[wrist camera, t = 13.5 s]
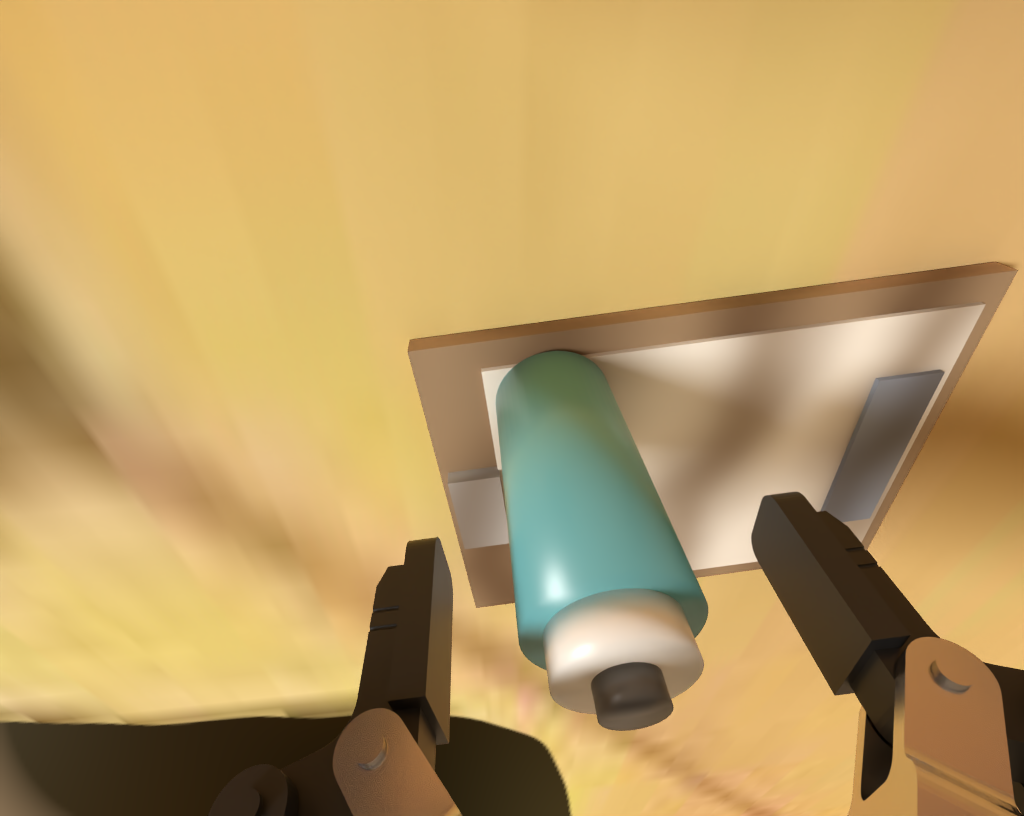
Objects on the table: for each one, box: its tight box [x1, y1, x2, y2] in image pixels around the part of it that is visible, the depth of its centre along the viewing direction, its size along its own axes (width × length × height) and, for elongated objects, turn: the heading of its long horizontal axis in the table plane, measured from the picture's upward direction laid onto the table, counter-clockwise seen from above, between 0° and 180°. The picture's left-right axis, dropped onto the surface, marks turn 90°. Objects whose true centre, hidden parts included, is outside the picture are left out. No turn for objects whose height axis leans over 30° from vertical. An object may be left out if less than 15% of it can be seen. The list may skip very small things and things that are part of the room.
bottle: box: [495, 351, 708, 731], centre depth 13 cm, size 4×4×10 cm
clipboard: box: [408, 262, 1018, 608], centre depth 20 cm, size 20×15×1 cm
